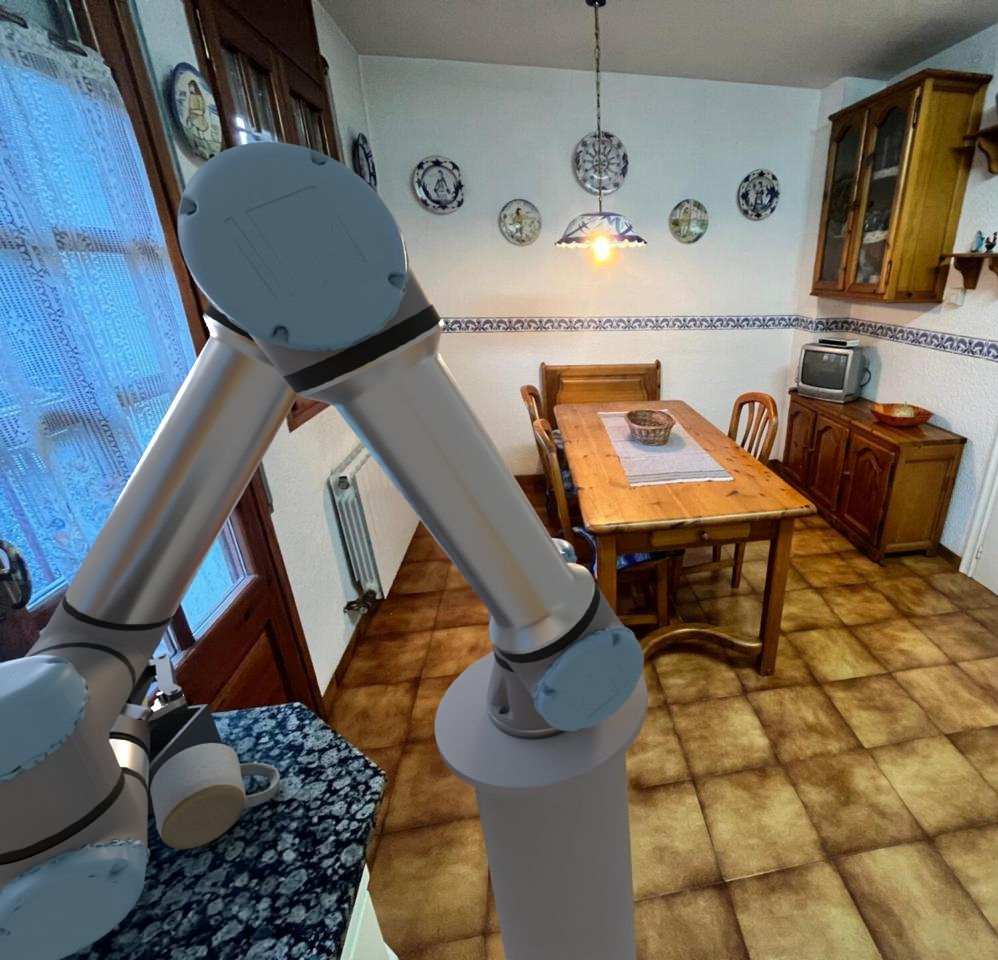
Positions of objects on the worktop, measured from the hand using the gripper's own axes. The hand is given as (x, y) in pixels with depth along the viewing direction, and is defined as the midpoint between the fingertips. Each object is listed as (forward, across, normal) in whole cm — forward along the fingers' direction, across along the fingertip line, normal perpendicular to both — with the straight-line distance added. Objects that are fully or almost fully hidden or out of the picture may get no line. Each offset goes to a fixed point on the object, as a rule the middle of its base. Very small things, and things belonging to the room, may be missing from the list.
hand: (109, 653), depth 62 cm
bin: (-5, 0, -16) cm, 17 cm away
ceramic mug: (-17, +6, -16) cm, 24 cm away
